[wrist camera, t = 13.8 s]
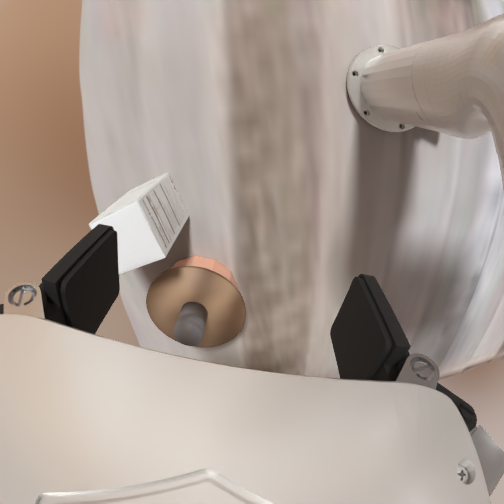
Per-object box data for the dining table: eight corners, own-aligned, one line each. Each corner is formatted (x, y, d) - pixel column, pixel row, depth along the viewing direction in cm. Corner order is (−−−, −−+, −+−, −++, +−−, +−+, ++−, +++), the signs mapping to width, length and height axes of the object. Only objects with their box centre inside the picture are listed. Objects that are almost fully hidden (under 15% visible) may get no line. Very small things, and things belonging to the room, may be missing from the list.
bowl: (242, 264, 46) (240, 285, 41) (230, 320, 51) (228, 343, 47) (168, 250, 45) (158, 268, 40) (165, 307, 51) (157, 328, 46)
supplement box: (149, 232, 44) (116, 276, 33) (128, 189, 41) (85, 223, 29) (191, 216, 42) (167, 259, 31) (170, 170, 39) (135, 199, 28)
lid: (254, 276, 40) (253, 303, 35) (236, 350, 47) (234, 377, 42) (147, 256, 39) (133, 279, 34) (149, 333, 46) (139, 357, 41)
